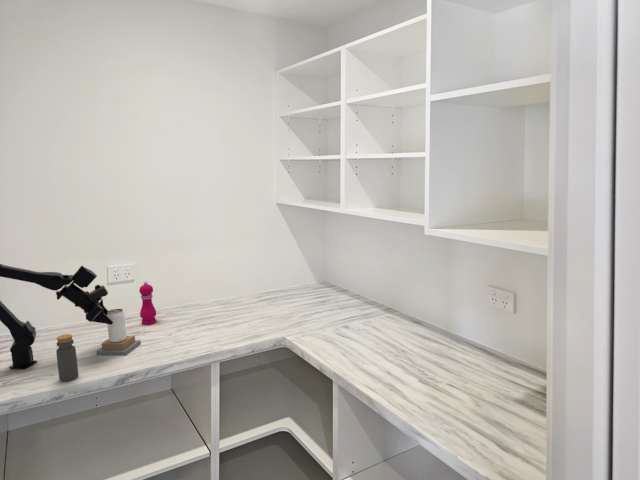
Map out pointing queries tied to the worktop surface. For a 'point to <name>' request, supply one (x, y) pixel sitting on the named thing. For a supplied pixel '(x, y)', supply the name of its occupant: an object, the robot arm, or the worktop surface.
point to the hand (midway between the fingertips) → (111, 320)
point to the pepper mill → (147, 304)
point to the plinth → (122, 352)
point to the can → (116, 325)
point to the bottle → (66, 358)
